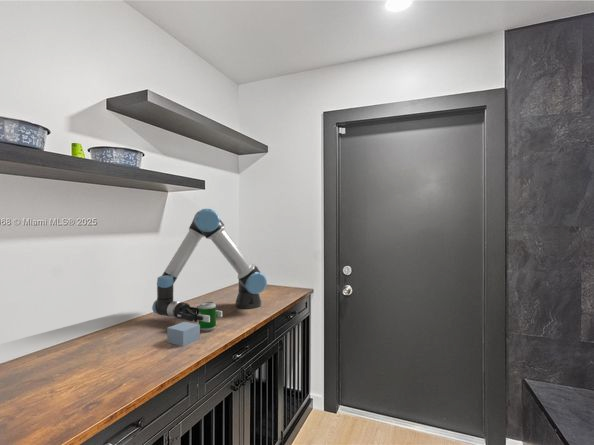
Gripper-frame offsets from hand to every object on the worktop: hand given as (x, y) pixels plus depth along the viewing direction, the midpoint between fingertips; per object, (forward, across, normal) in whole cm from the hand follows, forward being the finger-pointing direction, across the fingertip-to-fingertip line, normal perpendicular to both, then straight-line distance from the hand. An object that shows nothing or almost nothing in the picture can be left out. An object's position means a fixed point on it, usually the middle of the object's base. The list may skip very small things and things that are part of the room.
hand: (215, 316), depth 143 cm
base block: (-4, +15, -6) cm, 17 cm away
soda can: (-5, 0, -7) cm, 8 cm away
